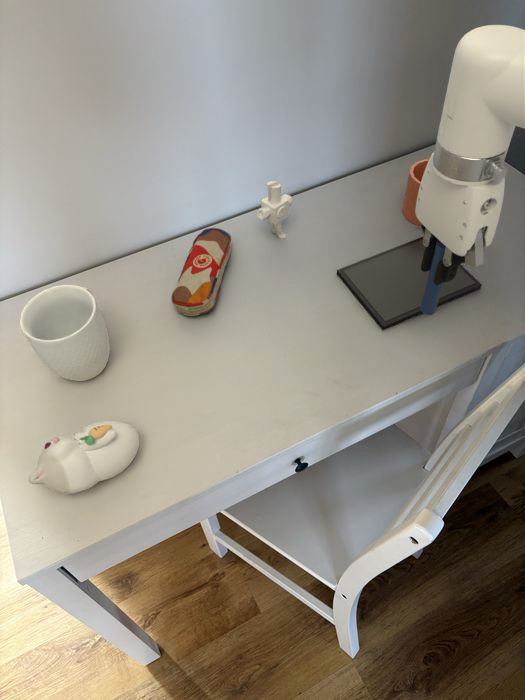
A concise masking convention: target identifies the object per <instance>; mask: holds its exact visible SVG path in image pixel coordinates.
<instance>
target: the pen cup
mask: <svg viewBox="0 0 525 700" xmlns="http://www.w3.org/2000/svg"><path fill="white" fill-rule="evenodd" d="M429 159H430V158H425V159H421V160H418V161H416V162H414V163H413V164H412V165H411V166H410V169H409V171H408V172H409V173H408V178H407V184H406V188H405V194H404V198H403V205H402V215H403V217H404V218H405V219H406V220H407V221H408V222H410V223H412V224H413V225H415V226H420V227H421V223H420V221H419V220H418V218H417V217H416V214H415V209H416V201H417V196H418V192H419V188H420V184H421V181H422V177H423V174H424V171H425V169H426V166H427V164H428V161H429Z"/></svg>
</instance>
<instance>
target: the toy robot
mask: <svg viewBox="0 0 525 700" xmlns="http://www.w3.org/2000/svg"><path fill="white" fill-rule="evenodd" d="M266 187H267V196H266V197H264V198H262V199H261V200H260V208H258V210H257V211H256V217H257V219H258V220H259V221H265V220H267V221H268V225H269V227H270V230H271V233H272V234H273V235H276V236H277V237H278V238H279V239H285V238H286V237H287V235H286V234H285V233H284V230H283V227H282V226H283V220H285V219H286V218H288V217H289V215H290V214H289V213H290V211H289V207H291V206H292V204H293V198H292V196H291V195H290V194H287V193H284V194H282V185H281V183H279V182H277V181H275V180H273V181H271V180H270V181H268V182H267V183H266ZM281 194H282V195H281Z"/></svg>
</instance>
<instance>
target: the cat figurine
mask: <svg viewBox="0 0 525 700" xmlns="http://www.w3.org/2000/svg"><path fill="white" fill-rule="evenodd" d="M139 449H140V435H139V432H138V430H137V429H136V428H135V427H133V426H132V425H131V424H129V423H126V422H123V421H119V420H103V421H97V422H93V423H91V424H89V425H86V426H85V427H83V428H81V429H79V430H78V431H77V432H76V433H75V434H64V435H59V436H57V437H54V438H53V439H52V440H51V441H50V442H49V441H48V442H46V443H45V444H44V449H43V450H42V451H41V453H40V455H39V457H38V460H37V465H36V467H35V469H33V471H32V472H31V474H30V475H29V476H28V482H29V484H32V485H41V486H45V487H46V488H47V489H49V490H51V491H52V492H54V493H57V494H58V493H59V494H65V495H66V494H67V495H68V494H75V493H80V492H85V491H88V490H89V489H91V488H92V487H94V486H95V485H96V484H98V483H99V482H102V481H106V480H109V479H111V478H114V477H116V476H118V475H119V474H121V473H122V472H124V471H125V470H126V469H127V468H128V467H129V466H130V465H131V463H132V462H133V461H134V459H135V458H136V456H137V453H138V451H139Z"/></svg>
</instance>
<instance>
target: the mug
mask: <svg viewBox="0 0 525 700" xmlns="http://www.w3.org/2000/svg"><path fill="white" fill-rule="evenodd" d="M97 303H98V302H97V301H96V299H95V297H94V294H93V293H92V291H91V290H90V289H89V288H88V287H85V286H79V285H74V284H60V285H56V286H51V287H49V288H46V289H45V290H42V291H40V292H39V293H37V294H36V295H34V296H33V297H32V298H31V299H30V300H29V301H28V302H27V303H26V304H25V305H24V307H23V308H22V311H21V313H20V317H19V326H20V329H21V331H22V333H23V335H24V336H25V337H26V340H27V342H28V343H29V345H30V346H31V348H32V349H33V351H34V352H35V354H36V355H37V356H38V358H39V359H40V360H41V362H42V363H43V364H44V365H45V366H46V367H48V368H49V369H50V370H51V371H52V372H54V373H55V374H56V375H58V376H59V377H61V378H64V379H65V380H69V381H75V382H82V381H83V382H85V381H89V380H91V379H94V378H95V377H97V376H98V375H100V374H101V373H102V372H103V370H104V369H105V368H106V366H107V364H108V361H109V357H110V352H111V349H110V348H111V345H110V343H111V342H110V336H109V331H108V329H107V324H106V322H105V319H104V317H103V313H102V312H101V310H100V307H99V305H98V304H97Z"/></svg>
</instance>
